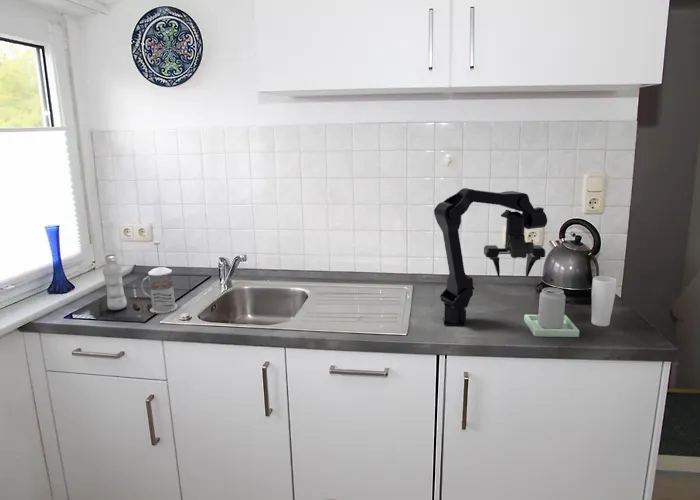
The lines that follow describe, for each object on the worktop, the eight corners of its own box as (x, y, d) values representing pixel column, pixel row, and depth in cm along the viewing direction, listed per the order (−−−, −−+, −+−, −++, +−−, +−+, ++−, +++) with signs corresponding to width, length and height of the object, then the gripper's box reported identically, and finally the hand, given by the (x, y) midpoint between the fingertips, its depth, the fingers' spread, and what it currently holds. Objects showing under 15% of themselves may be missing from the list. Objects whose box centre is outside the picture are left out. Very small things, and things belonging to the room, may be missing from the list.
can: (532, 324, 164) (534, 288, 161) (551, 320, 167) (553, 285, 164) (549, 332, 157) (552, 295, 155) (568, 328, 160) (571, 291, 157)
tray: (534, 336, 157) (534, 330, 156) (524, 320, 169) (524, 314, 169) (578, 337, 155) (579, 330, 155) (565, 320, 168) (565, 315, 168)
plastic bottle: (128, 304, 192) (121, 252, 187) (126, 311, 186) (119, 256, 181) (109, 307, 190) (101, 254, 185) (106, 313, 184) (99, 258, 179)
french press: (177, 311, 184) (170, 243, 178) (142, 315, 181) (133, 245, 175) (179, 302, 193) (172, 237, 187) (146, 305, 191) (138, 239, 185)
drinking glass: (583, 322, 167) (587, 277, 163) (599, 318, 169) (604, 274, 165) (600, 329, 160) (605, 283, 157) (617, 326, 163) (622, 280, 159)
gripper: (490, 235, 162) (488, 283, 166) (551, 235, 160) (548, 283, 164) (484, 228, 173) (482, 273, 176) (542, 228, 171) (538, 273, 175)
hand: (512, 276), depth 173 cm, fingers open, 9 cm apart
